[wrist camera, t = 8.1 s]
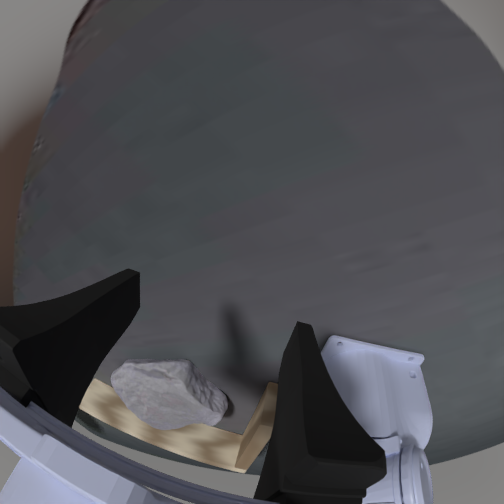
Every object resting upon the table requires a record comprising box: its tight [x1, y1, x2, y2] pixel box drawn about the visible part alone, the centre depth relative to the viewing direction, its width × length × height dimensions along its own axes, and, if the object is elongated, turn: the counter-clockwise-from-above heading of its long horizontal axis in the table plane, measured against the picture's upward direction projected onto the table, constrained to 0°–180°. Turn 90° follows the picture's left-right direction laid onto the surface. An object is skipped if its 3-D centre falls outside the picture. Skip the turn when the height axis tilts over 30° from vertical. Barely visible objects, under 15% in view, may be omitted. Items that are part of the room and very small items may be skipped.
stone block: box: [111, 359, 228, 430], centre depth 29 cm, size 12×5×10 cm
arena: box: [79, 379, 278, 473], centre depth 28 cm, size 23×14×5 cm, turn 78°
